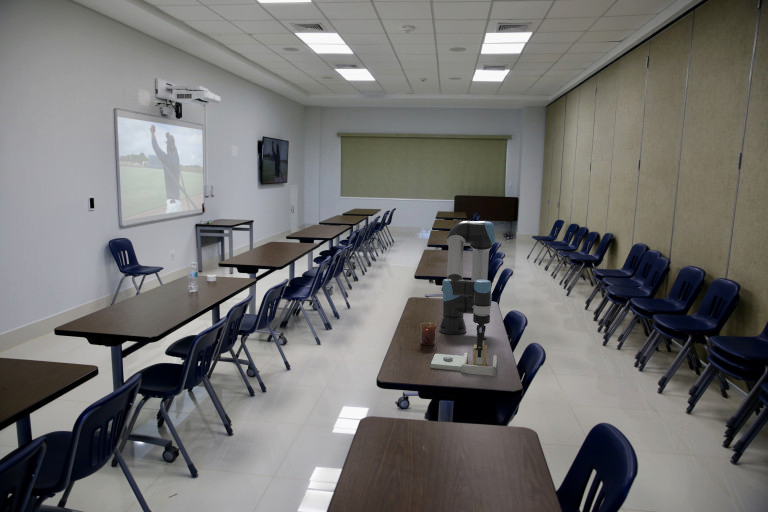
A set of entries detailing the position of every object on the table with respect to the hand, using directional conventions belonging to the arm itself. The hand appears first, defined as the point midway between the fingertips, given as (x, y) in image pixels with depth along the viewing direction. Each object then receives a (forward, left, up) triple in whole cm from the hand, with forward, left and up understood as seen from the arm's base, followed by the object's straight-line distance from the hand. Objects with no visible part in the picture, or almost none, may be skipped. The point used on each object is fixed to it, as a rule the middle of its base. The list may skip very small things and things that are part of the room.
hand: (480, 358), depth 232 cm
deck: (+3, -7, -3) cm, 8 cm away
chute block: (0, 0, -3) cm, 3 cm away
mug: (-23, -28, -3) cm, 36 cm away
